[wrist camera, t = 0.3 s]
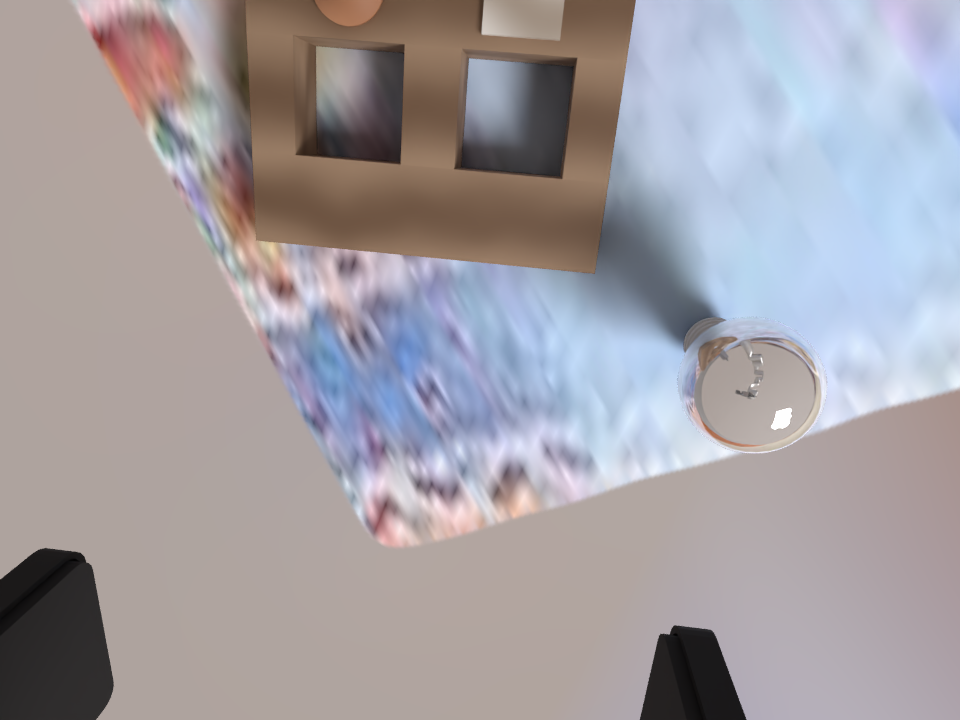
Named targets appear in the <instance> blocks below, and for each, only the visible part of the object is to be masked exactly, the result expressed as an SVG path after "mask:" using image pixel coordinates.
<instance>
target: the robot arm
mask: <svg viewBox="0 0 960 720" xmlns="http://www.w3.org/2000/svg"><path fill="white" fill-rule="evenodd" d="M113 686H114V685H113V676H112V671H111V665H110V660H109V655H108V649H107V644H106V639H105V633H104V627H103V622H102V617H101V611H100V606H99V600H98V595H97V590H96V584H95V579H94V574H93V569H92V566H91V565H90V564H89V563H86V560H85V557H84V556H83V555H82V554H81V553H78V552H72V551H64V550H55V549H47V548H44V549H40V550H38V551H36V552H35V553H33V554H32V555H30V556H29V557H28V558H27V559H25V560H24V561H23V562H22V563H20V564H19V565H18V566H17V567H16V568H14V569H13V570H12V571H10V572H9V573H8V574H7V575H5V576H4V577H3V578H2V579H0V720H96V719H97V718H98V716H99V715H100V714H101V712H102V711H103V710H104V708H105V707H106V705H107V704H108V702H109V700H110V698H111V695H112V692H113ZM640 720H746V717H745V714H744V712H743V709H742V707H741V704H740V701H739V698H738V695H737V693H736V690H735V687H734V685H733V682H732V679H731V677H730V674H729V671H728V668H727V666H726V663H725V661H724V657H723V655H722V652H721V649H720V647H719V644H718V641H717V638H716V636H715V634H714V633H713V631H711V630H708V629H700V628H692V627H684V626H673V628H672V629H671V632H670V635H668V634H660V636H659V639H658V642H657V647H656V651H655V655H654V660H653V664H652V669H651V673H650V677H649V682H648V686H647V691H646V695H645V700H644V704H643V709H642V713H641V717H640Z"/></svg>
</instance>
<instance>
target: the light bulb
mask: <svg viewBox="0 0 960 720" xmlns="http://www.w3.org/2000/svg"><path fill="white" fill-rule="evenodd" d="M684 351H685V354H684V357H683V359H682V361H681V364H680V368H679V373H678V378H677V389H678V395H679V399H680V403H681V406H682V409H683V411H684V413H685V415H686V417H687V419H688V420H689V421H690V422H691V423H692V425H693V426H694V427H695V428H696V429H697V430H698V432H699V433H700V434H702V435H703V436H704V437H706V438H707V439H708V440H710V441H711V442H713V443H715V444H717V445H719V446H721V447H723V448H725V449H729V450H732V451H736V452H742V453H768V452H772V451H776V450H780V449H782V448H785V447H787V446H789V445H791V444H793V443H795V442H796V441H798V440H799V439H801V438H802V437H803V436H804V435H805V434H807V433H808V432H809V431H810V430H811V428H812V427H813V426H814V425H815V423H816V422H817V421H818V419H819V417H820V415H821V413H822V411H823V408H824V404H825V401H826V396H827V377H826V372H825V369H824V366H823V363H822V361H821V359H820V356H819V354H818V353H817V351H816V350H815V349H814V347H813V346H812V345H811V343H810V342H809V341H808V340H807V339H806V338H805V337H804V336H802V335H801V334H800V333H799V332H798V331H796V330H795V329H793V328H791V327H789V326H787V325H785V324H783V323H781V322H778V321H775V320H771V319H768V318H761V317H742V318H733V319H730V320H725V319H722V318H718V317H711V318H706V319H703V320H700V321H698V322H697V323H695V324H694V325H693V326H692V327H691V328H690V329H689V330H688V332H687V334H686V336H685V339H684Z"/></svg>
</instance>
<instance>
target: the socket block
mask: <svg viewBox="0 0 960 720" xmlns="http://www.w3.org/2000/svg"><path fill="white" fill-rule="evenodd" d="M635 2H636V0H245V9H246V31H247V52H248V74H249V95H250V117H251V138H252V160H253V181H254V203H255V224H256V240H258V241H268V242H278V243H288V244H298V245H309V246H319V247H329V248H339V249H349V250H359V251H370V252H380V253H390V254H400V255H410V256H420V257H431V258H441V259H451V260H461V261H471V262H481V263H492V264H502V265H512V266H522V267H532V268H542V269H552V270H563V271H573V272H583V273H593V274H595V268H596V262H597V255H598V248H599V242H600V235H601V228H602V222H603V215H604V208H605V202H606V195H607V188H608V182H609V175H610V168H611V162H612V155H613V148H614V142H615V135H616V128H617V122H618V115H619V108H620V102H621V95H622V88H623V82H624V75H625V68H626V62H627V55H628V48H629V42H630V35H631V28H632V22H633V15H634V8H635ZM316 46H322V47H335V48H347V49H360V50H372V51H385V52H398V53H404V80H403V109H402V138H401V162H394V161H383V160H372V159H361V158H350V157H338V156H327V155H317V121H316ZM469 58H473V59H486V60H498V61H511V62H523V63H536V64H548V65H561V66H573V74H572V82H571V90H570V99H569V107H568V115H567V123H566V131H565V139H564V147H563V156H562V164H561V172H560V176H550V175H539V174H528V173H517V172H505V171H494V170H483V169H472V168H461V166H462V151H463V137H464V122H465V107H466V92H467V78H468V63H469Z"/></svg>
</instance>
